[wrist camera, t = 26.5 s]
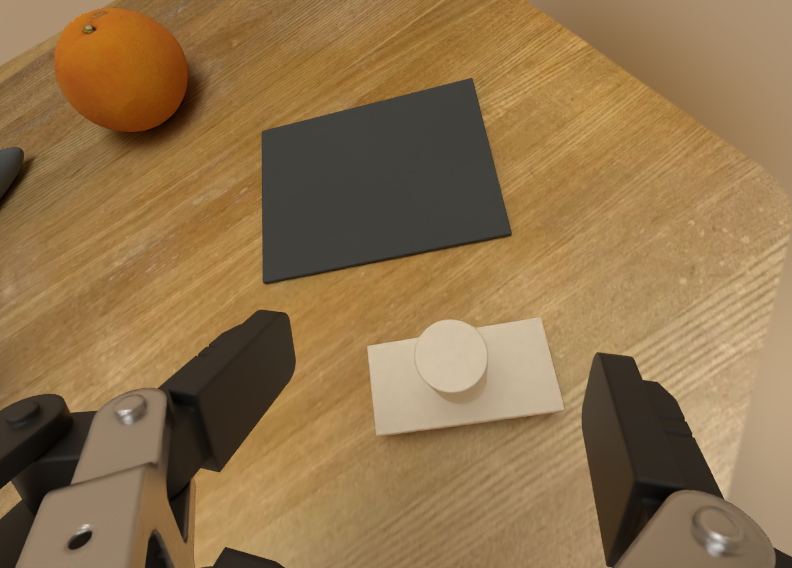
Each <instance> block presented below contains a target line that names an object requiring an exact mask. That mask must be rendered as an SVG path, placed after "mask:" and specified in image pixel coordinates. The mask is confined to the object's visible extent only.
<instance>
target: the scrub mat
mask: <svg viewBox="0 0 792 568" xmlns="http://www.w3.org/2000/svg"><path fill="white" fill-rule="evenodd" d="M262 233H263V283H265V284H268V283H273V282H278V281H283V280H288V279H293V278H298V277H303V276H308V275H313V274H319V273H324V272H329V271H334V270H339V269H344V268H349V267H354V266H359V265H364V264H369V263H374V262H379V261H384V260H389V259H394V258H399V257H405V256H410V255H415V254H420V253H425V252H430V251H435V250H440V249H445V248H450V247H455V246H460V245H465V244H470V243H475V242H480V241H485V240H491V239H496V238H501V237H506V236H511V229H510V225H509V221H508V217H507V213H506V209H505V206H504V202H503V198H502V194H501V190H500V186H499V182H498V178H497V174H496V170H495V166H494V162H493V158H492V154H491V150H490V146H489V142H488V138H487V134H486V130H485V126H484V122H483V119H482V115H481V111H480V107H479V103H478V99H477V95H476V91H475V87H474V83H473V79H472V78H470V79H466V80H462V81H458V82H454V83H450V84H446V85H442V86H438V87H434V88H430V89H427V90H423V91H419V92H415V93H411V94H407V95H403V96H399V97H395V98H391V99H387V100H383V101H379V102H375V103H371V104H367V105H364V106H360V107H356V108H352V109H348V110H344V111H340V112H336V113H332V114H328V115H324V116H320V117H316V118H312V119H308V120H304V121H300V122H297V123H293V124H289V125H285V126H281V127H277V128H273V129H269V130H265V131H262Z"/></svg>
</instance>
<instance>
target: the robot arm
mask: <svg viewBox="0 0 792 568" xmlns="http://www.w3.org/2000/svg"><path fill="white" fill-rule="evenodd" d="M295 363H296V358H295V351H294V345H293V338H292V332H291V325H290V320H289V317H288V315H287V314H286V313H283V312H275V311H267V310H258V311H256V312H255V313H254V314H253V315H252V316H251V317H249V318H248V319H247V320H246V321H245V322H244V323H243V324H241V325H238V326H236V327H234V328H232V329H230V330H228V331H226V332H224V333H222V334H221V335H220V336H218V337H217V338H216V339H215V340H214V341H213V342H211V343H210V344H209V347H206V348H204V349H203V350H202V351H201V352H200V353H199V354H198V356H195V357H194V358H193V359H192V360H190V361H189V362H188V363H187V364H186V365H184V366H183V367H182V368H181V369H180V370H179V371H177V372H176V373H175V374H174V375H173V376H172V377H170V378H169V379H168V380H167V381H166V382H165V383H163V384H162V385H161V386H160V387H159V388H158V389H156V388H141V389H136V390H132V391H129V392H126V393H124V394H121V395H119V396H117V397H115V398H113V399H112V400H110V401H109V402H107V403H106V404H105V405H103V406H102V407H101V408H100V409H99V410H98V411H89V412H75V413H70V411H69V409H68V407H67V405H66V403H65V401H64V399H63V398H62V397H61V396H59V395H56V394H43V395H37V396H33V397H29V398H26V399H23V400H20V401H18V402H16V403H13V404H11V405H9V406H7V407H6V408H4V409H2V410H1V411H0V489H1V488H2V487H3V486H5V485H6V484H7V483H8V482H9V481H11V482H12V483H13V485H14V486H15V488H16V490H17V491H18V493H19V495H20V496H21V498H22V500H21V501H20V502H19V503H18V504H17V505H16V506H15V507H14V508H12V509H11V510H10V511H9V512H8V513H7V514H6V515H5V516H3V517H2V518H1V519H0V568H195V563H194V531H195V498H196V483H195V480H194V477H193V476H194V475H195V474H196V473H197V472H198V470H199V469H200V468H203V469H207V470H212V471H216V472H220V471H221V470H222V469H223V467H224V466H225V465H226V464H227V462H228V461H229V460H230V458H231V457H232V456H233V454H234V453H235V452H236V450H237V449H238V448H239V447H240V445H241V444H242V443H243V441H244V440H245V439H246V437H247V436H248V435H249V433H250V432H251V431H252V429H253V428H254V427H255V426H256V424H257V423H258V422H259V420H260V419H261V418H262V416H263V415H264V414H265V412H266V411H267V410H268V409H269V407H270V406H271V405H272V403H273V402H274V401H275V399H276V398H277V397H278V395H279V394H280V393H281V392H282V390H283V389H284V388H285V386H286V385H287V384H288V382H289V381H290V380H291V378H292V376H293V373H294V370H295ZM684 419H685V417H684V415H683V413H682V411H681V409H680V407H679V405H678V403H677V401H676V399H675V398H674V397H673V396H672V395H671V394H670V393H668V392H667V391H666V390H665V389H664V388H663V387H662V386H661V385H660V384H659V383H658V382H653V381H646V380H642V377H641V375H640V372H639V370H638V367H637V365H636V363H635V360H634V358H633V357H631V356H623V355H615V354H607V353H599V352H597V353H596V354H595V356H594V358H593V362H592V366H591V371H590V375H589V380H588V384H587V388H586V393H585V397H584V402H583V407H582V431H583V436H584V442H585V448H586V453H587V459H588V464H589V470H590V476H591V481H592V487H593V492H594V498H595V504H596V509H597V515H598V521H599V526H600V532H601V537H602V543H603V549H604V554H605V560H606V565H607V566H608V567H612V568H792V557H791V556H789V555H787V554H785V553H783V552H781V551H779V550H777V549H776V548H774V547H773V546H772V544H771V542H770V540H769V538H768V537H767V535H766V534H765V533H764V531H763V530H762V529H761V528H760V526H759V525H758V524H757V523H756V522H755V521H754V520H753V519H751V517H749V516H748V515H747V514H746V513H744V512H743V511H742V510H740V509H739V508H737V507H736V506H734V505H733V504H731V503H729V502H727V501H726V500H724V498H723V495H722V493H721V491H720V489H719V487H718V485H717V483H716V481H715V479H714V477H713V475H712V473H711V471H710V469H709V467H708V465H707V463H706V461H705V459H704V456H703V454H702V452H701V450H700V448H699V446H698V444H697V442H696V440H695V438H693V437H692V432H691V430H690V428H689V426H688V424H687V422H685V420H684ZM203 568H285V567H283V566H282V565H280V564H279V563H277V562H276V561H272V560H269V559H265V558H262V557H258V556H255V555H251V554H248V553H244V552H241V551H237V550H234V549H231V548H227V547H225V548H224V550H223V551H222V553H221V554H220V556H219V558H218V559H217V561H216V562H215V564H214V565H213V566H209V567H203Z"/></svg>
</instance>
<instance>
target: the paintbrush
mask: <svg viewBox="0 0 792 568" xmlns="http://www.w3.org/2000/svg"><path fill="white" fill-rule="evenodd" d="M23 159H24V152H23V150H22V149H21V148H18V147H11V148H6V149H2V150H0V199H1V197H2V196H3V195H4V193H5V192H6V191H7V189H8V188H9V187H10V185H11V184H12V182H13V181H14V179H15V177H16V176H17V174H18V172H19V170H20V168H21V165H22V163H23Z"/></svg>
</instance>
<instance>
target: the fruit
mask: <svg viewBox="0 0 792 568" xmlns="http://www.w3.org/2000/svg"><path fill="white" fill-rule="evenodd" d="M54 63H55V67H54V68H55V75H56V79H57V82H58V84H59V87H60V89H61V91H62V93H63V95H64V96H65V97H66V99H67V100H68V101H69V103H70V104H71V105H72V106H73V107H74V108H75V109H76V110H77V111H78V112H79V113H80V114H81V115H82V116H84V117H85V118H87V119H88V120H90V121H92V122H93V123H95V124H97V125H99V126H101V127H105V128H108V129H111V130H115V131H124V132H137V131H144V130H148V129H151V128H154V127H156V126H158V125H160V124H162V123H163V122H164V121H166V120H167V119H168V118H170V117H171V116H172V115H173V114H174V113H175V112H176V110H177V109H178V107H179V105H180V104H181V102H182V100H183V97H184V95H185V92H186V89H187V82H188V68H187V62H186V58H185V55H184V52H183V50H182V48H181V46H180V44H179V43H178V42H177V40H176V39H175V38H174V36H173V35H172V34H171V33H170V32H169V31H168V30H167V29H166V28H165V27H163V26H162V25H161V24H159V23H158V22H157V21H155V20H154V19H152V18H150V17H148V16H146V15H144V14H141V13H139V12H135V11H131V10H127V9H121V8H104V9H98V10H94V11H91V12H89V13H85V14H82V15H80V16H79V17H77V18H76V19H74V20H73V21H72V22H70V23H69V24H68V25H67V26H66V27H65V29H64V30H63V32H62V34H61V36H60V38H59V41H58V43H57V45H56V49H55V53H54Z"/></svg>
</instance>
